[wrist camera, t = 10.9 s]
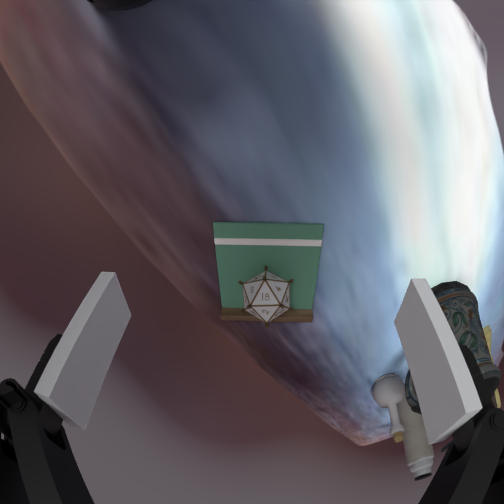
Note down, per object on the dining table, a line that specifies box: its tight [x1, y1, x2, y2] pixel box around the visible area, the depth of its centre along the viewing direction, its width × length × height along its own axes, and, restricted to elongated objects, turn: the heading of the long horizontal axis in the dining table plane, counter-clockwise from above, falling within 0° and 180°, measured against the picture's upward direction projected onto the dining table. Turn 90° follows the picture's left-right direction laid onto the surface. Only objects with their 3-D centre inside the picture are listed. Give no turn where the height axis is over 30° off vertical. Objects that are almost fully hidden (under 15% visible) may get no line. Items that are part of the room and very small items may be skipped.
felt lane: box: [213, 222, 324, 309], centre depth 47 cm, size 17×16×1 cm
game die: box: [238, 265, 294, 328], centre depth 45 cm, size 9×8×10 cm
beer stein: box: [405, 281, 501, 415], centre depth 42 cm, size 16×19×25 cm
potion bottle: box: [372, 373, 405, 442], centre depth 59 cm, size 9×9×18 cm
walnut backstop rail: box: [221, 307, 313, 322], centre depth 52 cm, size 1×16×2 cm, turn 91°
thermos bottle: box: [397, 394, 434, 480], centre depth 62 cm, size 8×8×28 cm
